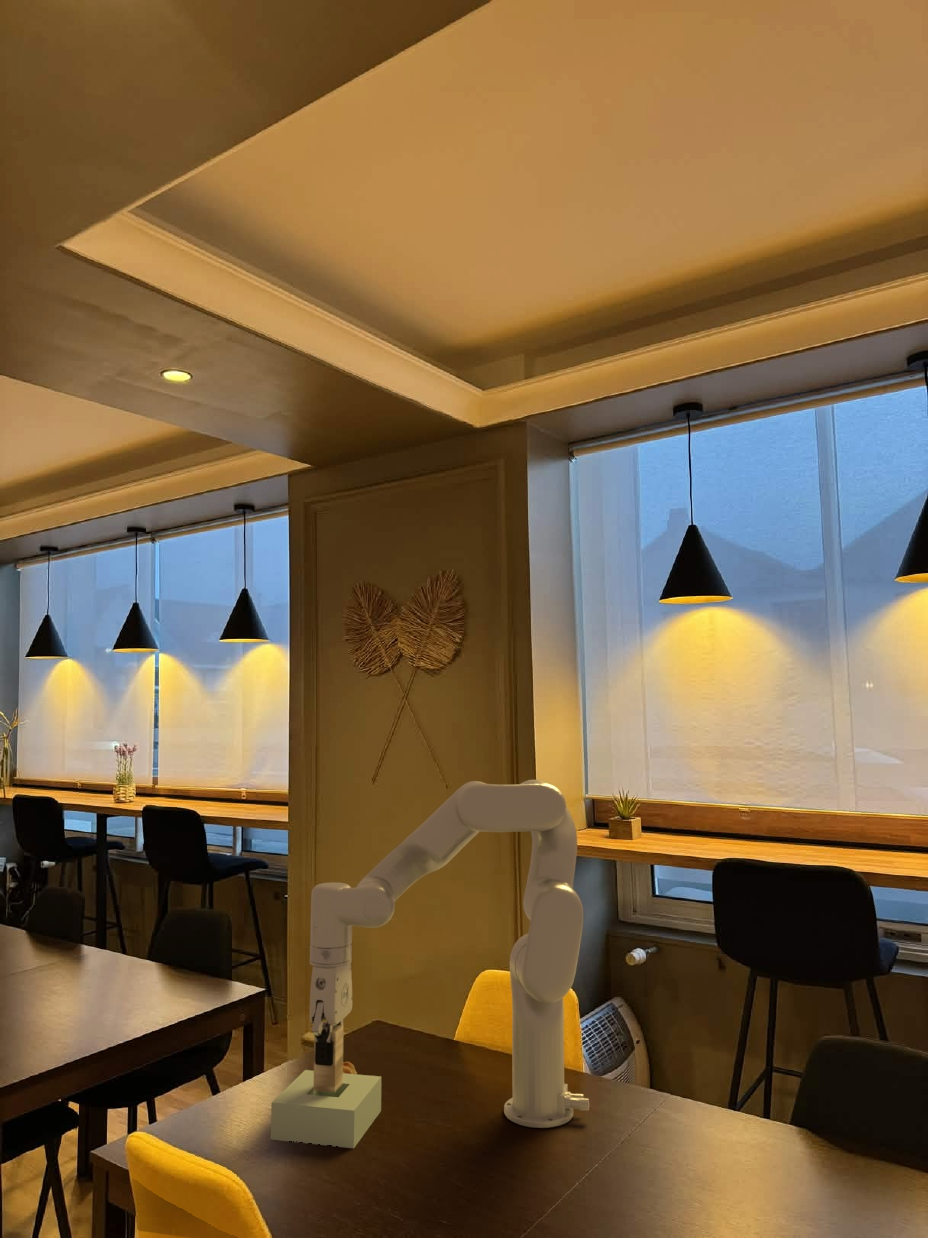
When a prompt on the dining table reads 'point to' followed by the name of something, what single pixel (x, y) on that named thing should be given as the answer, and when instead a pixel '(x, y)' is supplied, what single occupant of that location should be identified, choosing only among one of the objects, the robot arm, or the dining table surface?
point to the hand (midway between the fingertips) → (328, 1059)
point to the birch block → (331, 1075)
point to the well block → (326, 1111)
